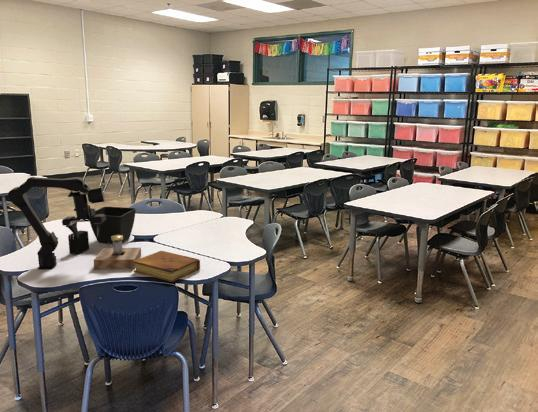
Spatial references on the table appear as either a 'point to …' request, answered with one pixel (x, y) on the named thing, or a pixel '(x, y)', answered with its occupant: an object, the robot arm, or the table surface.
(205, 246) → the table surface
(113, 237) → the pin
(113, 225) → the flower pot
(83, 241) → the electronic device
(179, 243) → the table surface
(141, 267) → the diary
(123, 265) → the socket block
